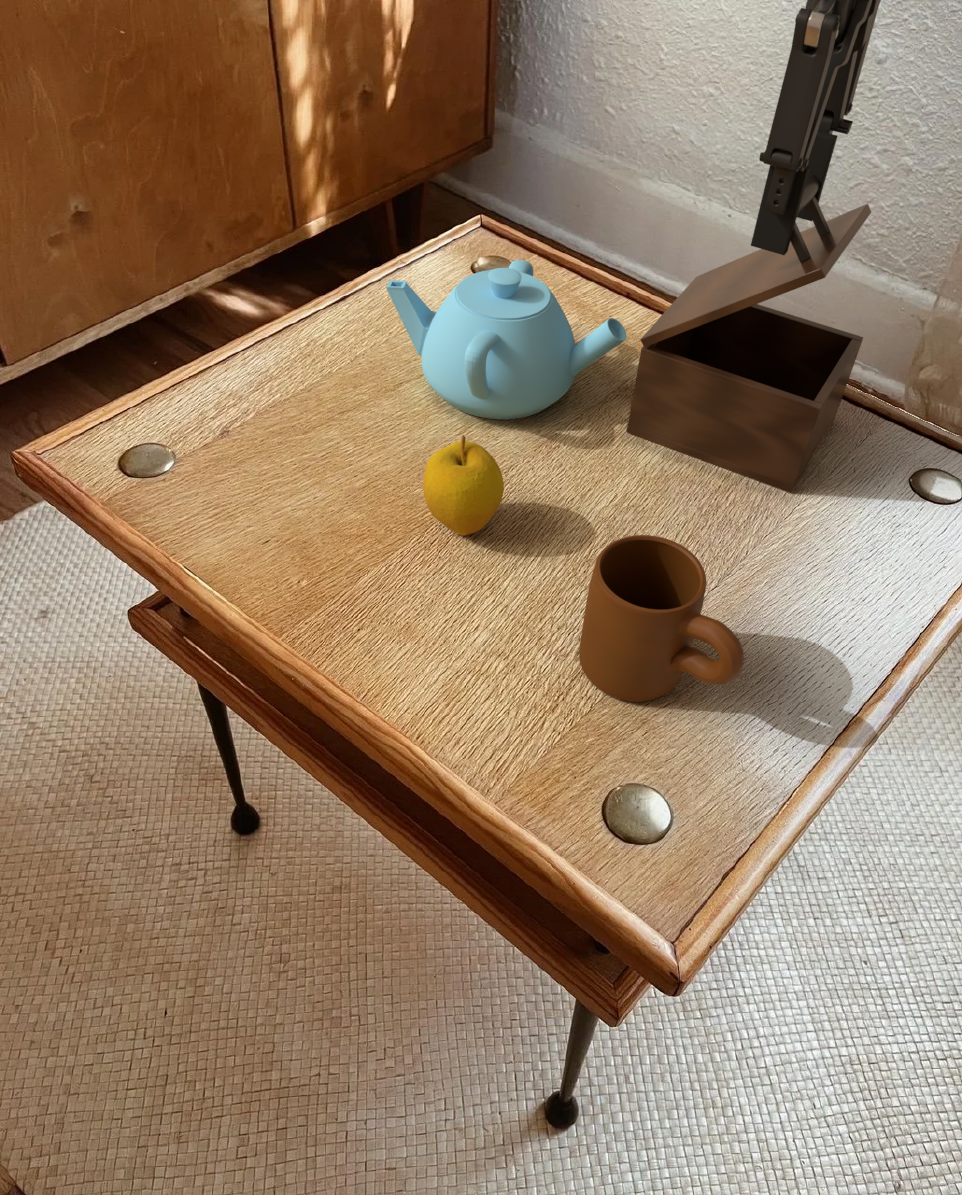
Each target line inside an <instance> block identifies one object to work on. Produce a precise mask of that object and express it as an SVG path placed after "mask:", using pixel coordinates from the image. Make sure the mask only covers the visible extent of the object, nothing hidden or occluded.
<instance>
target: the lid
mask: <svg viewBox="0 0 962 1195" xmlns="http://www.w3.org/2000/svg"><path fill="white" fill-rule="evenodd" d="M818 190H819V181H818V179H817V177H816V176H815V175H813V174H812V173H809V174H808V177H807V181H806V185H805V188H804V192H803V196H802V199H801V203H800V207H799V211H798V214H797V216H798V215H799V214H800V213H801V212H802V210H803V209H804V208H805V207H807V209H808V211H809V214H810V216H811V218H812V222H813V225H814V226H812V227H809V228H807V229H804V230H802V231H800V229H799V227H798V224H797V222H795V225H794V229H793V233H792V236H791V240H790V244H789V248H788V251H787V253H786V254H785V255H781V254H778V253H774V252H771V251H767V250H764V249H760V248H759V249H758V250H756V251H754V252H753V251H752V252H751V253H748V254H746V255H744V256H741V257H739V258H737V259H734V260H732V261H729V262H728V263H725V264H723V265H720V266H718V267H716V268H714V269H713V268H712V269H711V270H709V271H706V272H704V273H702V274H699V275H697V276H695V278H693V280H692V281H691V282H690V283H689V284H688V285H687V286H686V288H685V289H684V290H683V291H681V293H680V294H679V295H678V296H677V297H676V299H675V300H674V301H673V302H672V303H671V304H670V306H669V307H667V309H666V310H665V311H664V312H663V313H662V315H660V316H659V318H658V319H657V320H656V321H655V322H654V324H652V326H650V328H649V329H648V330H646V332H645V333H644V334H643V336H642V337H641V338H640V339H639V340H640V342H641V344H642V347H643V346H644V347H646V346H649V345H652V344H654V343H657V342H659V341H662V340H665V339H667V338H670V337H672V336H675V335H678V334H680V333H683V332H685V331H688V330H691V329H693V328H696V327H698V326H701V325H703V324H706V323H709V322H711V321H714V320H716V319H719V318H722V317H724V316H727V315H729V314H732V313H735V312H737V311H740V310H742V309H745V308H748V307H750V306H753V305H755V304H758V305H759V304H760V303H763V302H766V301H769V300H771V299H773V298H776V297H778V296H781V295H784V294H786V293H789V292H792V291H794V290H797V289H799V288H802V287H804V286H807V285H810V284H812V283H815V282H818V281H820V280H823V279H825V278H826V277H827V275H828V274H829V273H830V272H831V270H832V268H833V267H834V266H835V264H836V263H837V262H838V260H839V259H840V258H841V256H842V254H843V253H844V252H845V250H846V249H847V247H848V246H849V245H850V243H851V242H852V240H853V239H854V238H855V236H856V235H857V233H858V232H859V230H860V229H861V228H862V226H863V225H864V224H865V222H866V221H867V219H868V218H869V216H870V214H872V210H871V207H870V205H869V203H865V204H863V205H861V206H859V207H856V208H854V209H851V210H849V211H847V212H845V213H842V214H840V215H837V216H835V217H833V218H830V219H828V220H826V217H825V215H824V213H823V210H822V208H821V206H820V204H818V202H817V199H816V197H815V195H816V193H817V192H818Z"/></svg>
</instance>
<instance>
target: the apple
mask: <svg viewBox="0 0 962 1195" xmlns="http://www.w3.org/2000/svg"><path fill="white" fill-rule="evenodd" d="M466 438H467V437H466V436H465V435H464V434H462V436H461V440H459V441H455V442H453V443H451V444H449V445H447V446H445V447H443V448H441V449H439V450H437V451H436V452H434V453H433V454H432V455H431V456H430V457H429V459H428V461H427V463H426V465H425V468H424V474H423V482H422V486H423V487H422V490H423V497H424V501H425V503H426V506H427V508H428V511H429V512H430V514H432V516H433V517H434V518H435V519H436V520H437V521H438V522H439V523H441V524H442V525H444V526H445V527H446V529H449V530H450V531H451V532H453V533H455V534H458V535H459V536H467V535H471V534H476V533H477V532H479V531H481V530H483V529H484V528H485V526H487V525H488V523H489V522H490V521H491V519H492V518H493V517H494V515H495V514H496V513H497V511H498V509H499V507H500V505H501V503H502V501H503V500H502V499H503V497H504V490H505V483H504V477H503V474H502V471H501V468H500V466H499V464H498V462H497V461H496V459H495V458H494V457H493V455H492V454H491V453H490V452H488V450H487V449H486V448H484V447H483V446H482V445H480V444H478V443H476V442H475V441H469V440H466Z"/></svg>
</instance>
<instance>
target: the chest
mask: <svg viewBox="0 0 962 1195" xmlns="http://www.w3.org/2000/svg"><path fill="white" fill-rule="evenodd" d="M863 341H864V336H861V335H857V334H854V333H852V332H849V331H846V330H845V331H844V330H842V329H838V328H836V327H832V326H829V325H826V324H823V323H819V322H816V321H813V320H809V319H807V318H803V317H800V316H797V315H794V314H791V313H787V312H784V311H781V310H777V309H774V308H771V307H768V306H764V305H761V304H759V303H758V304H755V305H753V306H750V307H748V308H745V309H742V310H740V311H737V312H735V313H732V314H729V315H727V316H724V317H722V318H719V319H716V320H714V321H711V322H709V323H706V324H703V325H701V326H698V327H696V328H693V329H691V330H688V331H685V332H683V333H680V334H678V335H675V336H672V337H670V338H667V339H665V340H662V341H659V342H657V343H654V344H652V345H649V346H646V347H644V346H643V345H642V347H641V348H640V353H639V358H638V364H637V370H636V375H635V380H634V387H633V392H632V398H631V404H630V410H629V415H628V421H627V426H626V432H625V433H627V434H631V435H632V436H633V435H634V436H636V437H638V438H641V439H644V440H646V441H649V442H651V443H653V444H658V445H661V446H663V447H665V448H668V449H671V450H673V451H676V452H678V453H681V454H684V455H687V456H690V457H692V458H695V459H698V460H700V461H703V462H706V463H709V464H712V465H714V466H716V467H719V468H721V469H725V470H728V471H730V472H733V473H736V474H738V475H741V476H744V477H746V478H749V479H752V480H753V481H754V480H755V481H757V482H760V483H763V484H765V485H768V486H771V487H773V488H775V489H779V490H782V491H783V492H787V493H790V494H793V492H794V490H795V488H796V487H797V485H798V483H799V482H800V480H801V478H802V476H803V474H805V471H806V469H807V468H808V466H809V464H810V462H811V461H812V459H813V457H814V455H815V453H816V452H817V450H818V448H819V447H820V445H821V443H822V442H823V440H824V438H825V437H826V435H827V433H828V431H829V429H830V428H831V427H832V425H833V423H834V421H835V419H836V417H837V413H838V410H839V408H840V405H841V402H842V399H843V397H844V394H845V391H846V388H847V386H848V382H849V379H850V377H851V374H852V372H853V369H854V365H855V363H856V360H857V358H858V356H859V352H860V350H861V349H860V348H861V346H862V343H863Z"/></svg>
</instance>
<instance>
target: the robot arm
mask: <svg viewBox="0 0 962 1195" xmlns="http://www.w3.org/2000/svg"><path fill="white" fill-rule="evenodd" d="M881 1H882V0H807V1H806V3H805V4H806V5H805V7H801V8H800V9H799V11H798V13H797V14H796V16H795V21H794V23H795V25H794V30H793V37H792V42H791V48H790V53H789V57H788V59H787V60H788V61H787V65H786V69H785V73H784V77H783V80H782V84H781V88H780V92H779V97H778V101H777V104H776V108H775V112H774V115H773V120H772V124H771V127H770V132H769V135H768V140H767V143H766V148H765V150H764V151H762V152H760V154H759V159H758V160H759V162H762V163H763V164H764V165H769V169H768V171H767V176H766V180H765V185H764V189H763V193H762V196H761V201H760V205H759V209H758V214H757V217H756V221H755V225H754V230H753V234H752V237H751V242H750V246H751V247H754V248H756V249H757V248H758V249H759V250H760V249H764V250H767V251H771V252H774V253H778V254H781V255H785V254H786V253H787V251H788V248H789V244H790V240H791V236H792V233H793V229H794V225H795V222H796V221H797V218H798V219H801V220H805V221H809V222H813V220H812V218H811V216H810V214H809V211H808V209H807V207H805V208H804V209H803V210H802V212H801V213H800V214H799V215H798V216H797V214H798V211H799V207H800V203H801V199H802V196H803V192H804V188H805V185H806V181H807V177H808V174H809V173H812V174H813V175H815V176H816V177H817V179H818V181H819V190H818V192H817V193H816V195H815V197H816V199H817V202H818V204H819V203H820V199H821V196H822V193H823V189H824V186H825V183H826V179H827V175H828V171H829V169H830V165H831V160H832V158H833V154H834V151H835V147H836V143H837V140H838V135H837V134H833V132H836V133H839V134H843V135H849V133H850V131H851V128H852V126H853V123H854V121H853V120H849V119H846V118H845V116H846V117H847V116H848V115H849V114H850V112H851V111H852V109H853V105H854V104H853V101H854V97H855V94H856V90H857V87H858V83H859V79H860V76H861V72H862V68H863V65H864V62H865V57H866V54H867V51H868V48H869V43H870V40H871V37H872V33H873V29H874V24H875V21H876V18H877V14H878V10H879V7H880V3H881ZM819 205H820V204H819ZM796 223H797V222H796Z"/></svg>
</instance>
